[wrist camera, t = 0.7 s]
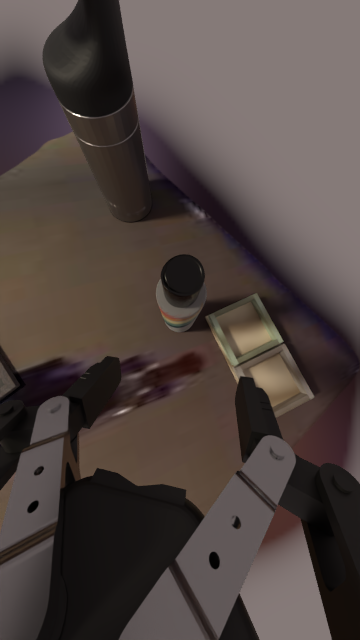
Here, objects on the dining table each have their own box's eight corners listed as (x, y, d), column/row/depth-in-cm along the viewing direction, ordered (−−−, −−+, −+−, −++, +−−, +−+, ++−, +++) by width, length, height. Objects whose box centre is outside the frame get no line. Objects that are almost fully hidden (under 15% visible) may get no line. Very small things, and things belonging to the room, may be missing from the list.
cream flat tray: (204, 317, 35) (207, 314, 32) (250, 296, 36) (257, 291, 33) (255, 419, 32) (263, 426, 29) (303, 393, 33) (316, 397, 30)
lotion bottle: (175, 298, 35) (173, 229, 16) (199, 313, 35) (229, 263, 15) (158, 322, 34) (134, 281, 15) (183, 338, 34) (193, 319, 14)
